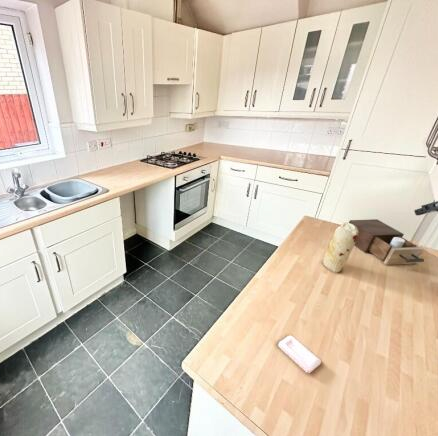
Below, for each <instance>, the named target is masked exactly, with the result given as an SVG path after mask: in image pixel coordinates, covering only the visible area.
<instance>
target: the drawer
mask: <svg viewBox="0 0 438 436" xmlns="http://www.w3.org/2000/svg"><path fill="white" fill-rule="evenodd" d="M394 237H399V238H402V239H404V240H405V242H404V244H403V246H402V247H401V248H392V246H391V245H390V243H391V241H392V239H393V238H394ZM391 248H392V249H391ZM424 249H425V248H424V247H422V246H418V245H416V244H415V243H414V242H411V241H410V240H408V239H406V238H404V237H401V236H374V239H373V241H372V242H371V244H370V246H369V248H368V251H370V252H371V253H370V254H372V255H374V256H375V257H376V258H378V259H379V260H381V261H383V264H384V265H386V266H389V265H392V266H393V265H415V264H416V263H424V262H425V259H424V258H422V257H421V258H420V256H421V255H422V253H423V252H424ZM390 250H391V251H390ZM389 251H390V252H389ZM388 253H389V254H388ZM387 255H388V256H387Z"/></svg>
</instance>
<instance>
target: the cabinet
mask: <svg viewBox="0 0 438 436" xmlns="http://www.w3.org/2000/svg"><path fill="white" fill-rule="evenodd" d="M348 223H350V224H353V225H355V226H356V227H357V229H358V232H359V233H358V236H357V239H356V242H355V244H354V246H355V247H356V248H357V249H359V250H360V251H362V252H363V253H364V254H367V253H369V254H372V253H371V252H370V251H368V248H369V246H370V244H371V242H372V241H373V239H374V236H401V237H402V238H404V235H405V233H403V232H401V231H400V230H398V229H395V228H394V227H392V226H390V225H388V224H387V223H385V222H383V221H381V220H380V219H375V218H373V219H371V218H370V219H350V220H349V221H348Z"/></svg>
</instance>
